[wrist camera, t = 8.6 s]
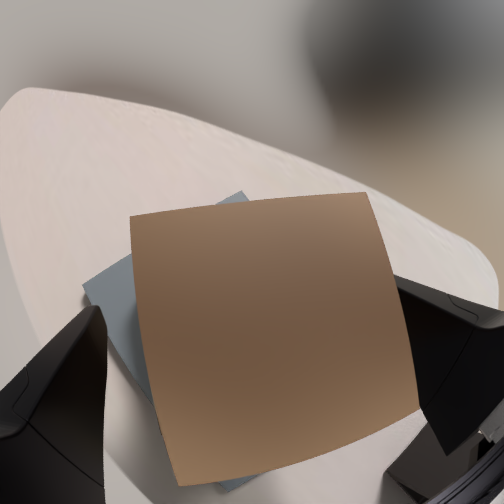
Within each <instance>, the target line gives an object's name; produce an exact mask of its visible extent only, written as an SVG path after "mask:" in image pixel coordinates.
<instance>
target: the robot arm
mask: <svg viewBox="0 0 504 504" xmlns="http://www.w3.org/2000/svg"><path fill="white" fill-rule="evenodd" d="M393 275H394V274H393ZM394 279H395V282H396V286H397V290H398V294H399V298H400V302H401V306H402V310H403V314H404V318H405V323H406V328H407V332H408V337H409V342H410V347H411V353H412V358H413V364H414V370H415V377H416V383H417V391H418V398H419V406H420V408H421V410H422V411H423V414H424V416H425V417H426V419H427V421H428V423H429V425H430V427H431V429H432V431H433V432H434V434H435V436H436V438H437V440H438V442H439V444H440V446H441V448H442V450H443V452H444V454H445V455H446V456H449V455H450V454H451V453H453V452H454V451H455V450H457V449H458V448H459V447H460V446H462V445H463V444H464V443H465V442H467V441H468V440H469V439H470V438H471V437H473V436H474V435H475V434H476V433H477V432H478V431H479V430H480V431H481V433H482V434H483V435H484V438H483V439H482V440H481V441H480V442H479V443H478V444H477V445H476V446H474V447H473V448H472V449H471V450H470V455H469V463H468V469H467V471H466V472H465V473H463V474H462V475H461V476H460V477H458V478H457V479H456V480H455V481H453V482H452V483H451V484H450V485H448V486H447V487H446V488H444V489H443V490H442V491H440V492H439V493H437V494H436V495H435V496H433V497H432V498H430V499H429V500H427V501H426V502H425V503H423V504H504V311H500V310H497V309H493V308H490V307H487V306H483V305H480V304H477V303H474V302H471V301H467V300H464V299H462V298H459V297H456V296H453V295H450V294H446V293H445V292H442V291H439V290H436V289H433V288H431V287H428V286H425V285H422V284H419V283H416V282H414V281H411V280H408V279H405V278H402V277H399V276H396V275H394ZM107 335H108V330H107V325H106V322H105V319H104V316H103V314H102V311H101V308H100V307H99V306H98V305H90V306H86V307H85V308H84V309H83V310H82V311H81V312H80V313H79V314H78V315H77V316H76V317H75V318H73V319H72V320H71V321H70V322H69V323H68V324H67V325H66V326H65V327H64V328H63V329H62V330H61V331H60V332H59V333H58V334H57V335H56V336H55V337H54V338H53V339H51V340H50V341H49V342H48V343H47V344H46V345H45V346H44V347H43V348H42V349H41V350H40V351H39V352H38V353H37V354H36V356H34V357H33V359H32V360H31V361H30V362H29V363H28V364H27V365H26V367H24V368H23V369H22V370H21V371H20V372H19V373H18V374H17V375H16V376H15V377H14V378H13V379H12V380H11V381H10V382H9V383H8V384H7V385H6V386H5V387H4V388H3V389H2V390H1V391H0V504H106V503H105V489H104V472H103V471H104V470H103V430H104V407H105V392H106V380H107Z"/></svg>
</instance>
